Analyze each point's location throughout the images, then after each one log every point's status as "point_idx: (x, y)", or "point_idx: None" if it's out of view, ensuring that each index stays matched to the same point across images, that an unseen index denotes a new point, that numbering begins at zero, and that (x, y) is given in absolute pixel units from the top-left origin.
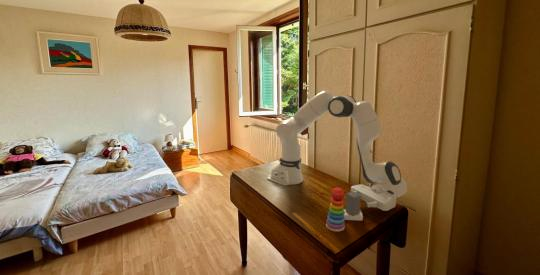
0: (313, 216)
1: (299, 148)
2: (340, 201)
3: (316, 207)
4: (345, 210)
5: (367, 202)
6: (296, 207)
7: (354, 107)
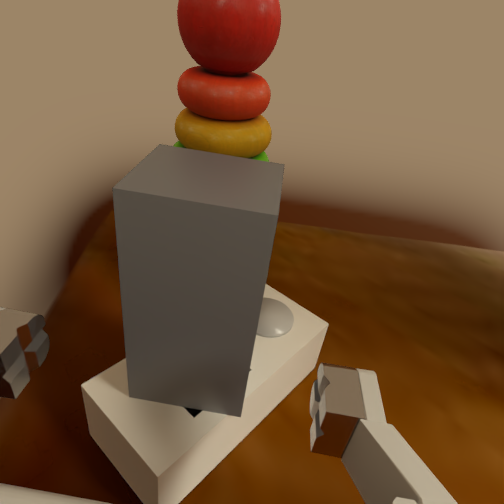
0: (370, 286)
1: None
2: (189, 68)
3: (473, 360)
4: (263, 354)
5: (17, 326)
6: (495, 290)
7: None
